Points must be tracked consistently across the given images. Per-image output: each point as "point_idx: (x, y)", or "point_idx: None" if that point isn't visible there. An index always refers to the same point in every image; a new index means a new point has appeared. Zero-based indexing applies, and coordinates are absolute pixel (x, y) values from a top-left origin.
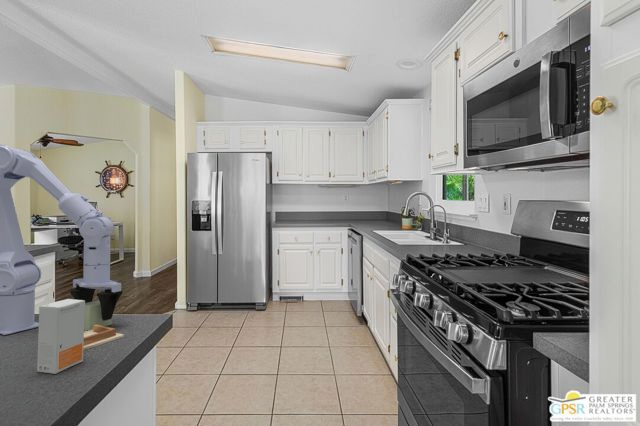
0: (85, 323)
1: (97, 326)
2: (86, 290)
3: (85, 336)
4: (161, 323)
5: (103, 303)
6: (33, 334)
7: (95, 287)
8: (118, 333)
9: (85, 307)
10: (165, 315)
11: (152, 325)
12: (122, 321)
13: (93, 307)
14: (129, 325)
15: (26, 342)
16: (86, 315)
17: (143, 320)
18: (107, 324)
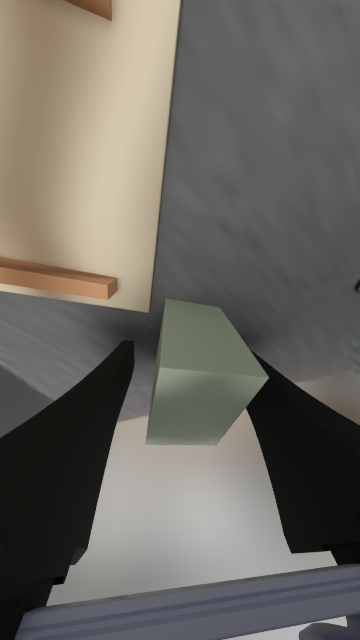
0: (188, 312)
1: (75, 280)
2: (323, 515)
3: (82, 213)
4: (44, 393)
5: (51, 411)
6: (351, 195)
7: (227, 630)
8: (8, 290)
9: (203, 361)
10: None
11: (45, 380)
12: (150, 379)
13: (157, 374)
14: None
15: (334, 32)
16: (186, 330)
17: None
18: (157, 351)
